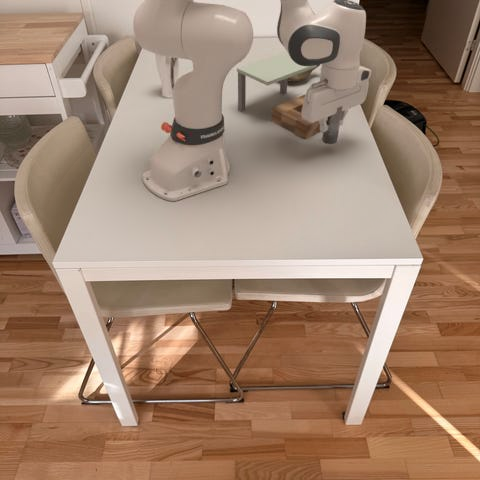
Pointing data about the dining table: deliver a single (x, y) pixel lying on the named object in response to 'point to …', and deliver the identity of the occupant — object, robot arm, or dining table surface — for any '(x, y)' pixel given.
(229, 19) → the robot arm
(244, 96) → the pale green platform
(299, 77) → the brown rounded scoop
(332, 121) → the peg
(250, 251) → the dining table surface
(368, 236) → the dining table surface
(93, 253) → the dining table surface
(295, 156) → the dining table surface
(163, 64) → the cream rounded piece
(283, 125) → the socket plate
